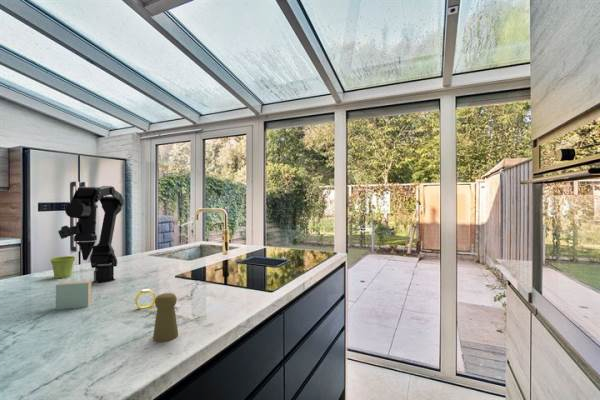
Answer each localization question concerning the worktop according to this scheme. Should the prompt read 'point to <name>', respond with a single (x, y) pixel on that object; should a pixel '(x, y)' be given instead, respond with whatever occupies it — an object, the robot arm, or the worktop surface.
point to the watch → (145, 292)
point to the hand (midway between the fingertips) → (85, 260)
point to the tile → (73, 294)
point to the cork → (165, 318)
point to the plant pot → (62, 266)
